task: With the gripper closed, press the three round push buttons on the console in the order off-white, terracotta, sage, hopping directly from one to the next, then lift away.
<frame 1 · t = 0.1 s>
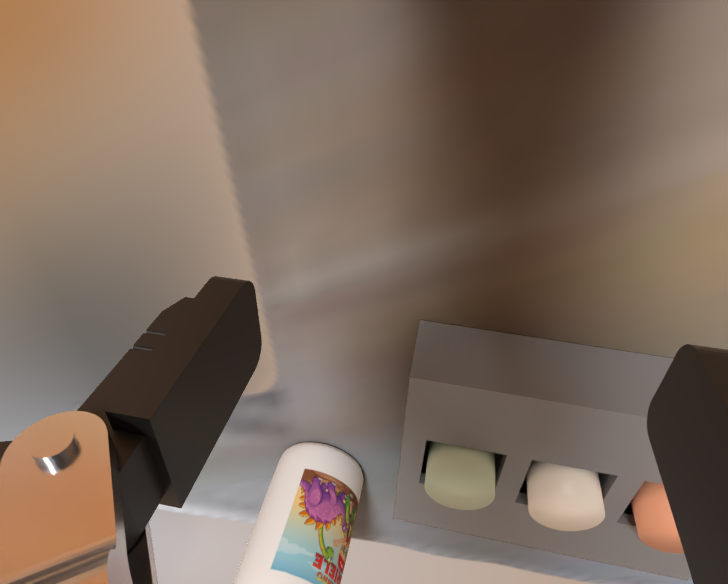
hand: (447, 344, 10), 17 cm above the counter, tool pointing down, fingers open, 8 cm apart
sage button: (460, 463, 33), point 5 cm above the counter, slide at 0.0 cm
milk bottle: (323, 463, 45), on the counter
off-white button: (562, 482, 32), point 5 cm above the counter, slide at 0.0 cm
terracotta button: (670, 503, 31), point 4 cm above the counter, slide at 0.0 cm
button console: (556, 426, 36), on the counter
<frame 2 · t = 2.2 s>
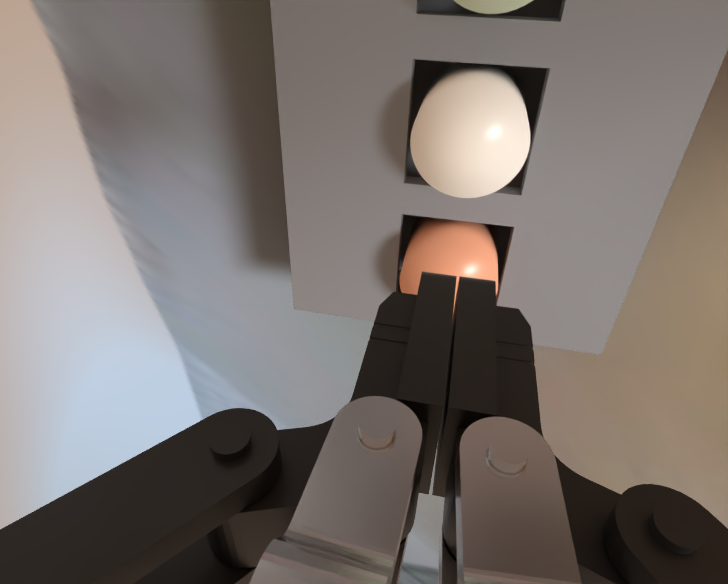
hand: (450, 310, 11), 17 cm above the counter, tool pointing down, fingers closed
off-white button: (470, 127, 20), point 4 cm above the counter, slide at 0.0 cm
terracotta button: (450, 261, 24), point 4 cm above the counter, slide at 0.0 cm
button console: (473, 97, 24), on the counter
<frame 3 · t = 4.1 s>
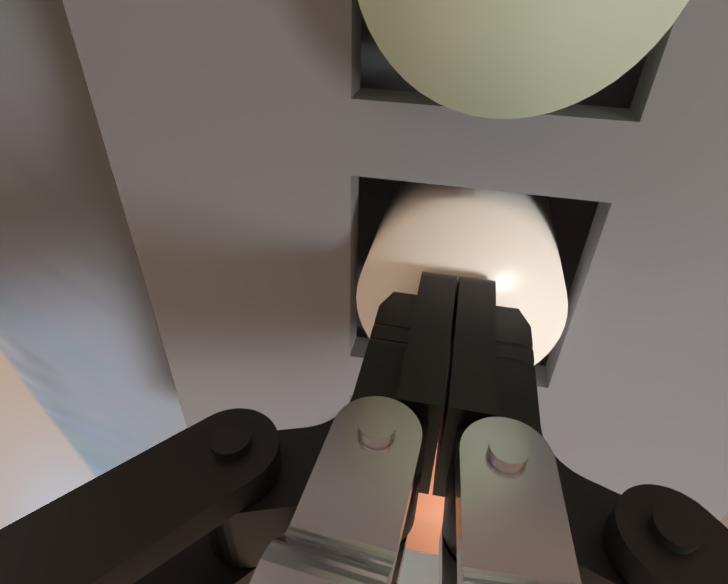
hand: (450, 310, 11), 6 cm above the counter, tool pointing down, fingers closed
off-white button: (461, 261, 12), point 4 cm above the counter, slide at 0.8 cm, touching gripper
terracotta button: (431, 452, 15), point 4 cm above the counter, slide at 0.0 cm
button console: (468, 196, 15), on the counter
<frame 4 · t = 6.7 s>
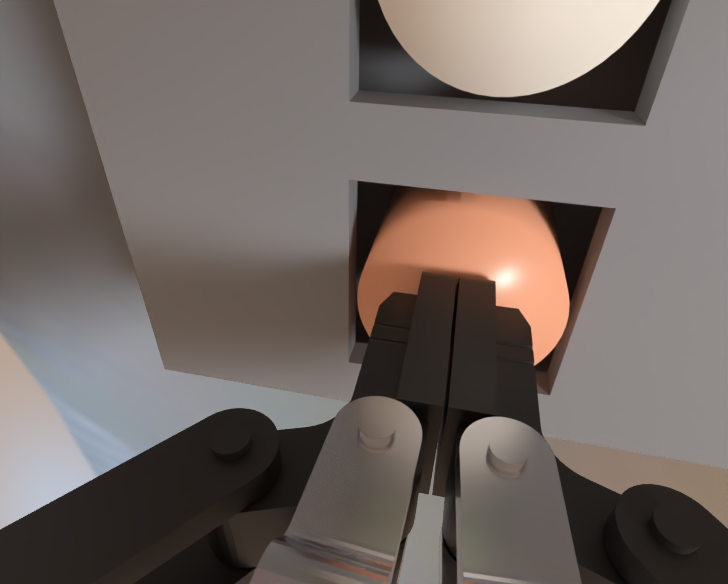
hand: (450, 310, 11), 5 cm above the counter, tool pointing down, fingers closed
terracotta button: (463, 260, 12), point 3 cm above the counter, slide at 1.1 cm, touching gripper
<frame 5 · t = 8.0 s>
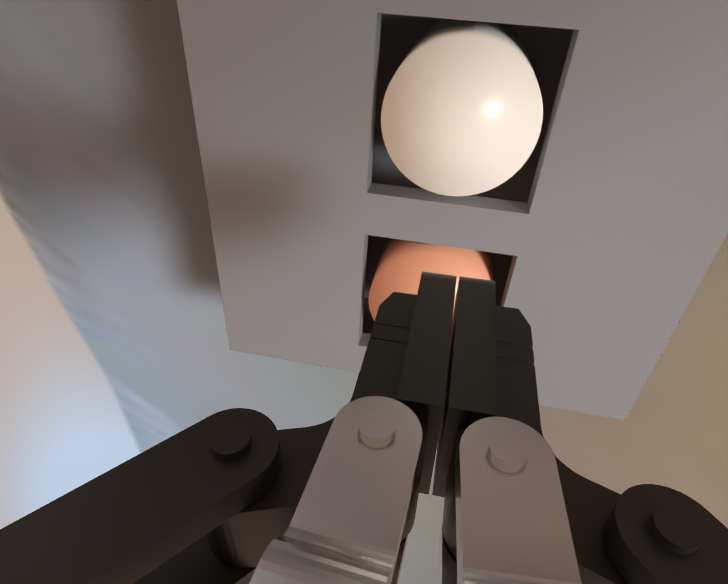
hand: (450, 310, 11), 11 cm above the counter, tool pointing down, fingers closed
off-white button: (461, 102, 15), point 3 cm above the counter, slide at 1.4 cm
terracotta button: (434, 275, 19), point 3 cm above the counter, slide at 1.4 cm
button console: (465, 78, 18), on the counter
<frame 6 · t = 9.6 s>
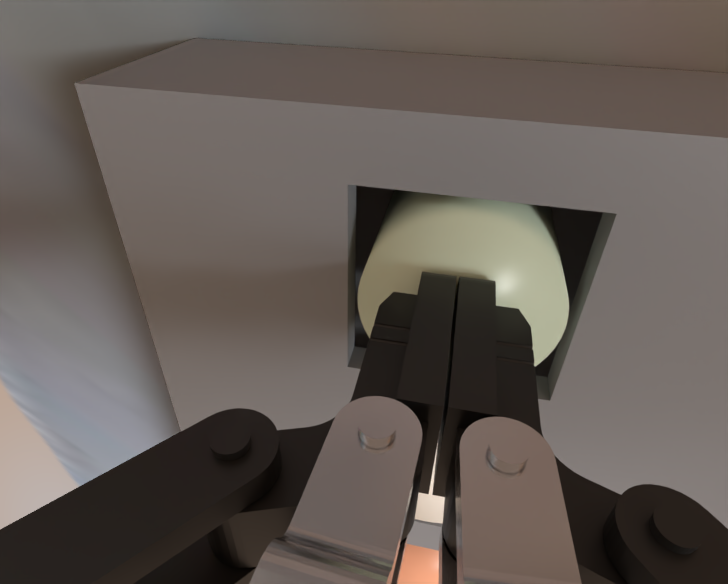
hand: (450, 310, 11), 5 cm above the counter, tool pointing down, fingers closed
sage button: (463, 262, 12), point 3 cm above the counter, slide at 1.2 cm, touching gripper
off-white button: (435, 426, 16), point 3 cm above the counter, slide at 1.4 cm
terracotta button: (418, 531, 20), point 3 cm above the counter, slide at 1.4 cm
button console: (443, 361, 19), on the counter
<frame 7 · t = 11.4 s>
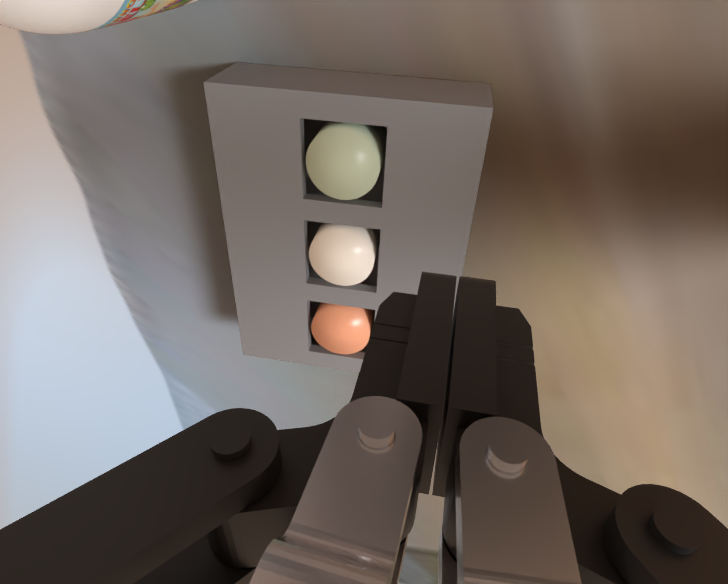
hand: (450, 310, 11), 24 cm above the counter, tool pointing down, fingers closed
sage button: (348, 153, 31), point 3 cm above the counter, slide at 1.4 cm
off-white button: (347, 243, 35), point 3 cm above the counter, slide at 1.4 cm
terracotta button: (345, 315, 39), point 3 cm above the counter, slide at 1.4 cm
button console: (355, 222, 37), on the counter
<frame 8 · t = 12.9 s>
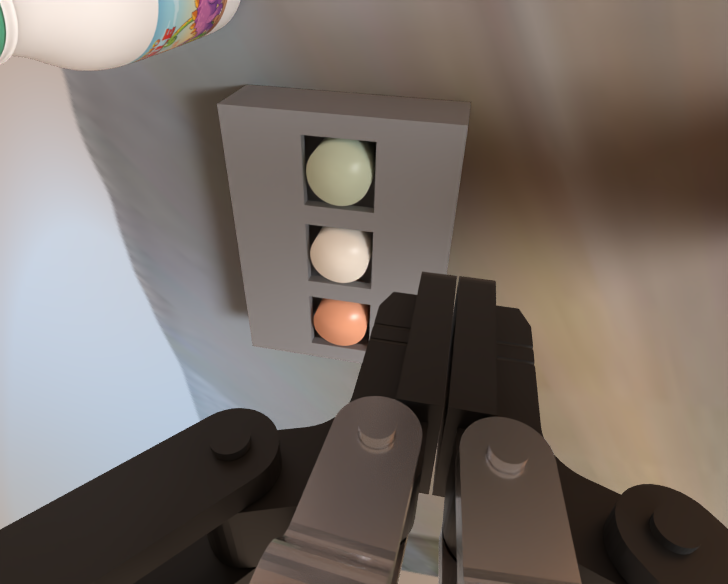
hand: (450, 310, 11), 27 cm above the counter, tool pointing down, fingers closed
sage button: (344, 164, 35), point 3 cm above the counter, slide at 1.4 cm
off-white button: (345, 244, 39), point 3 cm above the counter, slide at 1.4 cm
terracotta button: (345, 310, 43), point 3 cm above the counter, slide at 1.4 cm
button console: (353, 225, 41), on the counter
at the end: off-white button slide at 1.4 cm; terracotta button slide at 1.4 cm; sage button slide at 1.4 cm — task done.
